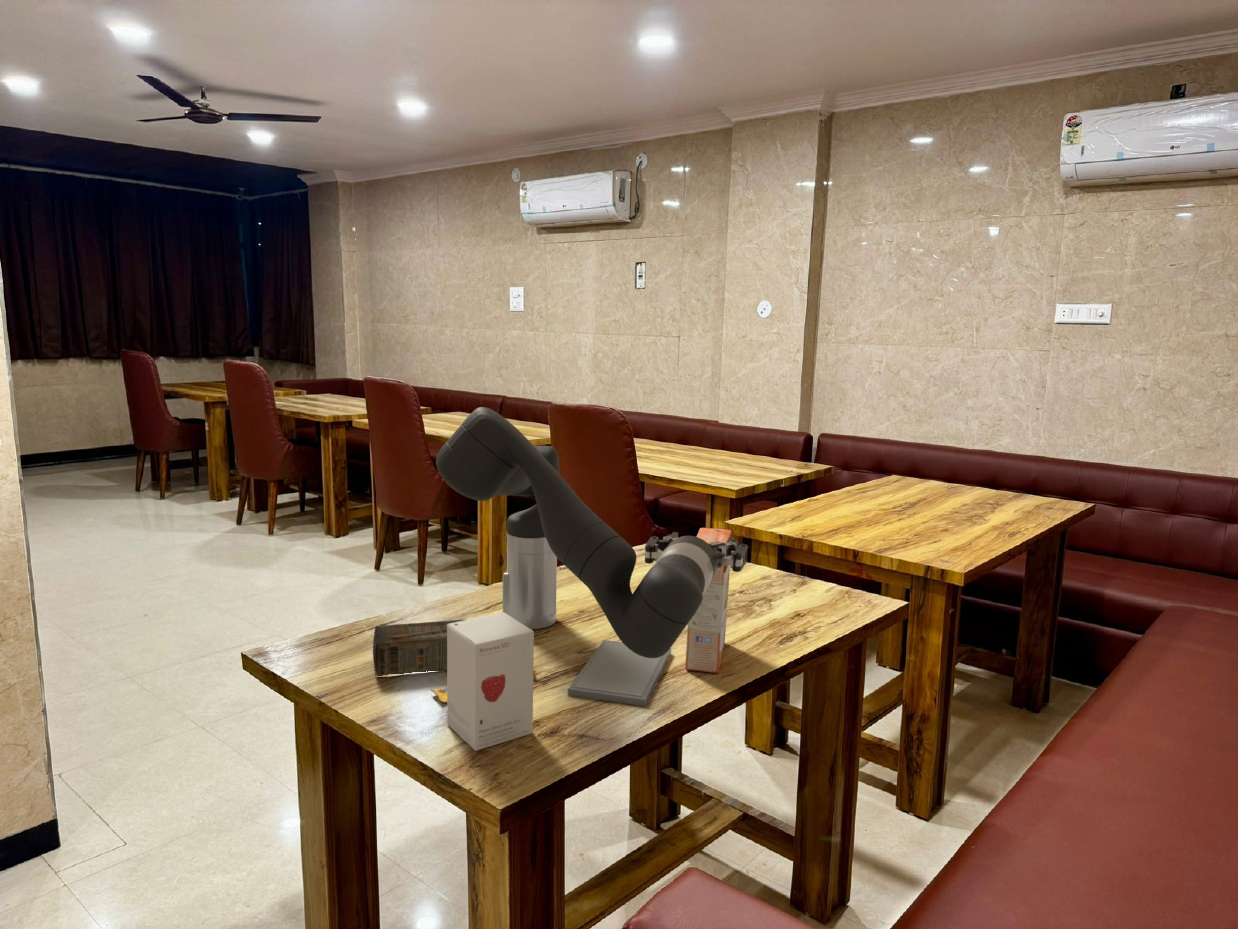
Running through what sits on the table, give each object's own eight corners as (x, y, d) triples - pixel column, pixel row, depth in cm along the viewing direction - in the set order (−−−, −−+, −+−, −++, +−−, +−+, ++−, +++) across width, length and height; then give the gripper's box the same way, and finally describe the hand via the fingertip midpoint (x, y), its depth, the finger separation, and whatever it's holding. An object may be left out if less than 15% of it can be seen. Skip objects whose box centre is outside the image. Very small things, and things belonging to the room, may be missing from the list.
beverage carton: (497, 668, 132) (497, 630, 131) (374, 682, 126) (373, 642, 125) (489, 649, 140) (489, 612, 138) (372, 661, 134) (371, 623, 133)
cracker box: (721, 675, 131) (727, 550, 127) (684, 671, 132) (689, 547, 129) (727, 642, 145) (733, 528, 141) (693, 639, 146) (698, 525, 142)
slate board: (645, 706, 120) (645, 699, 120) (567, 695, 123) (567, 688, 123) (671, 654, 139) (671, 648, 139) (603, 645, 142) (603, 639, 142)
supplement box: (474, 753, 106) (473, 644, 103) (445, 725, 113) (444, 622, 110) (535, 734, 111) (535, 630, 109) (504, 708, 118) (503, 610, 116)
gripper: (631, 592, 110) (657, 560, 126) (736, 603, 107) (749, 569, 122) (632, 538, 109) (658, 513, 125) (739, 548, 105) (752, 520, 121)
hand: (703, 540), depth 123 cm, fingers open, 8 cm apart
